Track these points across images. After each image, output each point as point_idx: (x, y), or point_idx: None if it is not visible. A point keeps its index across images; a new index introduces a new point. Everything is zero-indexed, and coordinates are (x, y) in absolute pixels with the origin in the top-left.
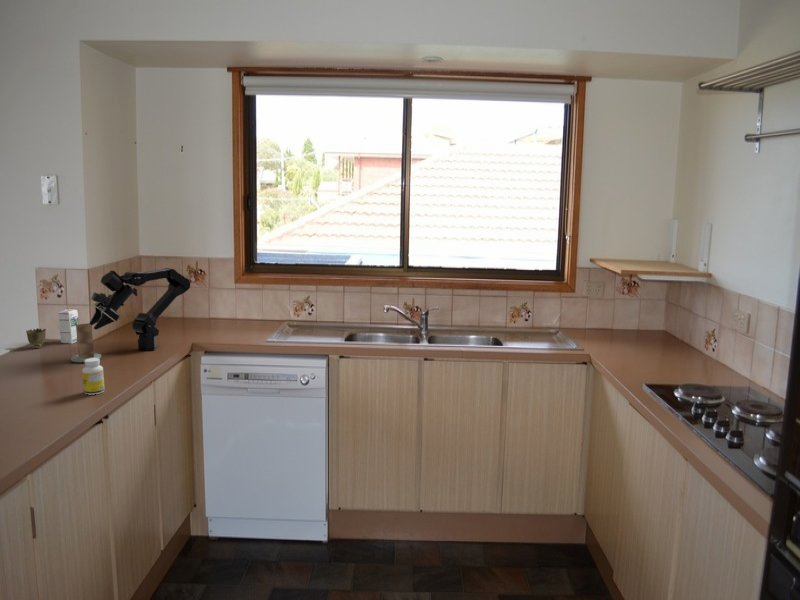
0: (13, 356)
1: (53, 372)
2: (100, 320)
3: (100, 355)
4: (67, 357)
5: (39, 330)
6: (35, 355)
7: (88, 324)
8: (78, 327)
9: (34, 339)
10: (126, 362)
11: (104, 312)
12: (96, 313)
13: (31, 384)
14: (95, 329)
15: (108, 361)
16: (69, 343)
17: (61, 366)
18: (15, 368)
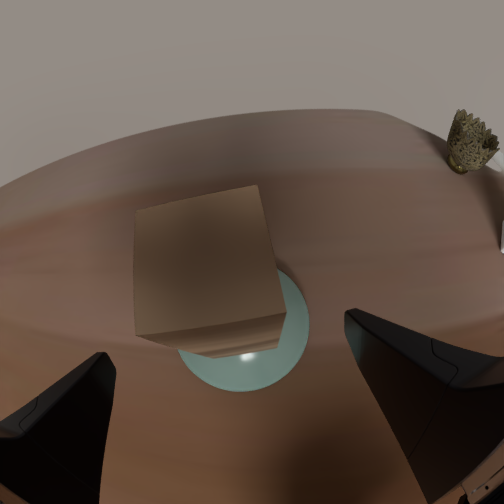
0: (369, 119)
1: (115, 220)
2: (27, 411)
3: (231, 388)
4: (321, 247)
5: (494, 143)
6: (374, 157)
7: (212, 303)
8: (138, 216)
9: (450, 138)
10: (128, 466)
11: (467, 492)
12: (445, 397)
13: (55, 191)
14: (108, 366)
15: (170, 413)
16: (501, 243)
17: None
18: (223, 128)
